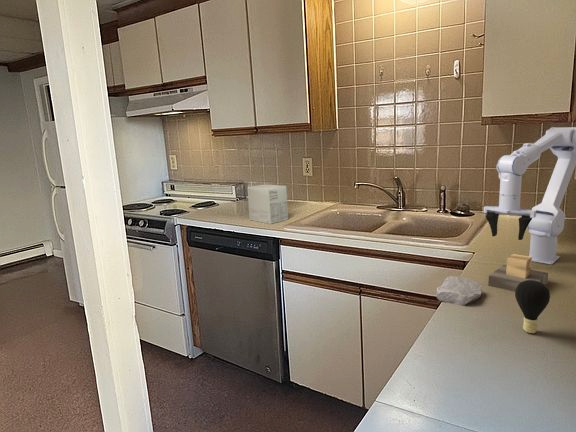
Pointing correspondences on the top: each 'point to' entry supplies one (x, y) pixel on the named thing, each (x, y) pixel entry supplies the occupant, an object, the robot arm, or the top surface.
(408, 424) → the top surface
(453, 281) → the stone block
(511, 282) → the base block
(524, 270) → the maple cube
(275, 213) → the supplement box
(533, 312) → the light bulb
